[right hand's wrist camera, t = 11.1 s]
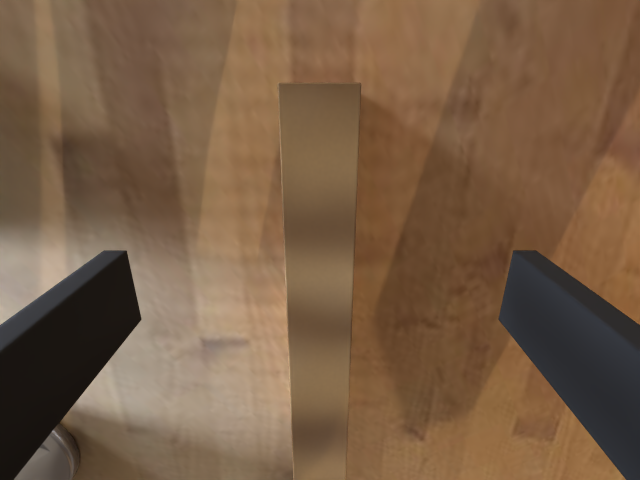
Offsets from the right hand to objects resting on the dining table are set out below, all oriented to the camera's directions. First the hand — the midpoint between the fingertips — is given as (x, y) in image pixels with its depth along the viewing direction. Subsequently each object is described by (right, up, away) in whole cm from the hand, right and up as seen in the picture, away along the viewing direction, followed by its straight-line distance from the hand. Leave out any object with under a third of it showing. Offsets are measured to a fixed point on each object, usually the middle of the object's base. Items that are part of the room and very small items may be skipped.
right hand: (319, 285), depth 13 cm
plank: (0, -11, +25) cm, 28 cm away
